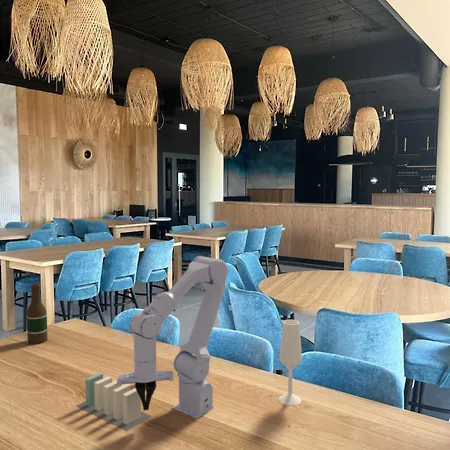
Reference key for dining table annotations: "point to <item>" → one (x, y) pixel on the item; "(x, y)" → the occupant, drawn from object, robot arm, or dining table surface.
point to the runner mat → (110, 417)
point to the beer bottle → (36, 318)
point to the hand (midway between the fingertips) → (145, 408)
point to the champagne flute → (290, 356)
